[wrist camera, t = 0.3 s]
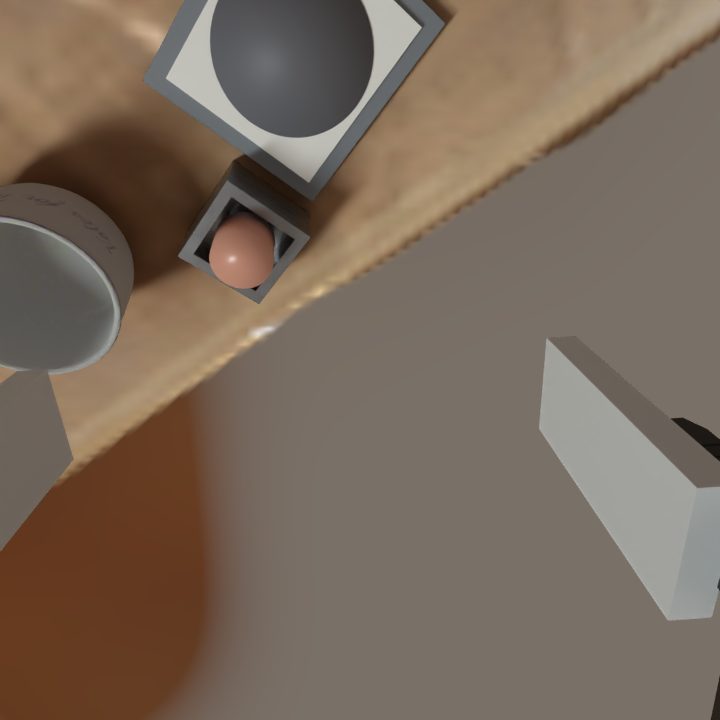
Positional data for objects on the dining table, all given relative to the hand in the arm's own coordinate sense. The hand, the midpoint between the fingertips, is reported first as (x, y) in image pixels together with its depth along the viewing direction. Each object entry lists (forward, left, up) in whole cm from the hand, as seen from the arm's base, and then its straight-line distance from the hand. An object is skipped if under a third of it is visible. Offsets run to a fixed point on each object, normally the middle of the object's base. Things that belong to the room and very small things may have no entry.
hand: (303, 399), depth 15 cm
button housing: (+7, 0, -26) cm, 26 cm away
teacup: (+16, -10, -26) cm, 32 cm away
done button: (+7, 0, -23) cm, 24 cm away
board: (-4, -3, -26) cm, 26 cm away
